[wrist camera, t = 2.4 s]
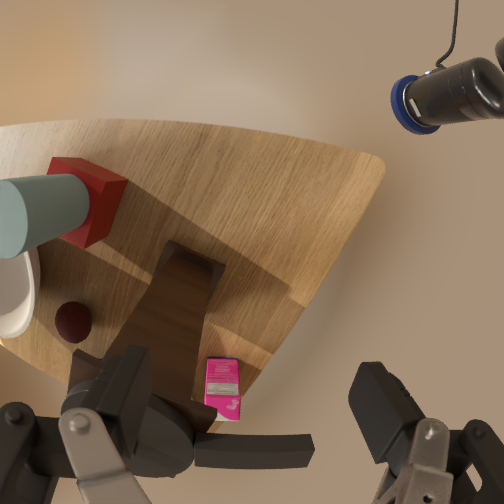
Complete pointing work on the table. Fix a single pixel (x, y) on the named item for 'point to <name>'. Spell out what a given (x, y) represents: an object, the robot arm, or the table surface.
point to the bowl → (18, 292)
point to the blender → (58, 206)
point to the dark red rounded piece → (73, 322)
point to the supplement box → (223, 388)
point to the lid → (199, 443)
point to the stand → (167, 331)
